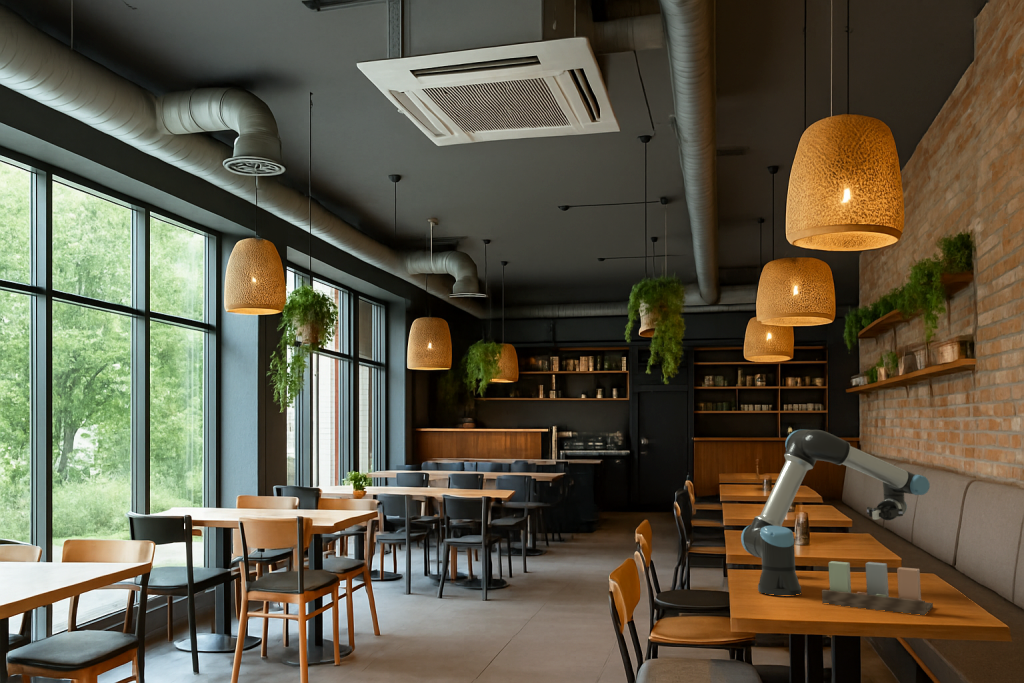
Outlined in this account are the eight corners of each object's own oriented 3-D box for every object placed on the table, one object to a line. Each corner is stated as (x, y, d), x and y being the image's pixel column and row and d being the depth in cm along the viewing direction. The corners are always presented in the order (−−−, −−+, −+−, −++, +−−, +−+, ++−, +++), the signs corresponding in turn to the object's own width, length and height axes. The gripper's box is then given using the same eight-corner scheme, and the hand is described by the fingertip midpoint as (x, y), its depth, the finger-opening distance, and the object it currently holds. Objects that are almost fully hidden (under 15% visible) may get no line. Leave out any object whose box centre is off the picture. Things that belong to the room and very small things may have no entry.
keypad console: (822, 603, 280) (821, 588, 280) (833, 596, 291) (833, 581, 291) (924, 616, 261) (924, 599, 261) (932, 607, 272) (931, 592, 273)
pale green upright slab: (830, 598, 280) (828, 562, 282) (833, 596, 284) (831, 561, 285) (848, 600, 277) (846, 564, 278) (851, 598, 280) (849, 562, 281)
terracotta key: (899, 606, 267) (897, 569, 269) (901, 603, 271) (899, 567, 272) (919, 608, 264) (917, 570, 265) (921, 606, 267) (919, 568, 268)
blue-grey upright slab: (867, 599, 278) (865, 563, 279) (870, 597, 281) (868, 562, 282) (886, 601, 274) (884, 565, 275) (888, 599, 277) (886, 563, 279)
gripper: (907, 520, 311) (894, 527, 292) (871, 518, 319) (856, 525, 300) (906, 500, 312) (893, 506, 293) (870, 499, 319) (855, 504, 301)
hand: (874, 515), depth 296 cm, fingers closed
